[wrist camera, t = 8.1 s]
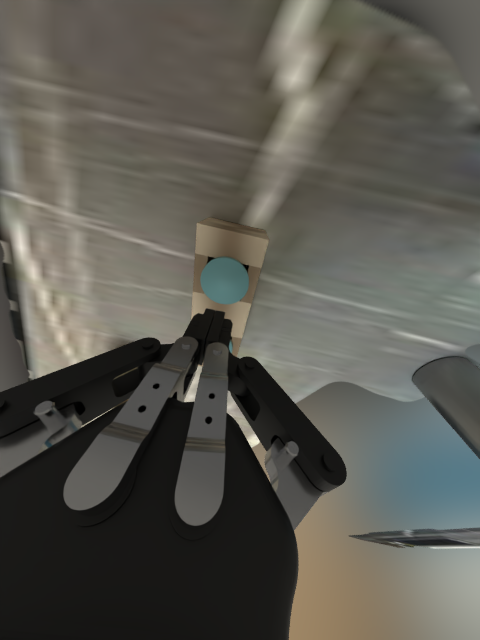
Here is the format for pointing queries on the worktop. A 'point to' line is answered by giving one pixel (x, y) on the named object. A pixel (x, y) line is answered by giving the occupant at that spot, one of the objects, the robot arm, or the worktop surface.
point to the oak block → (234, 243)
